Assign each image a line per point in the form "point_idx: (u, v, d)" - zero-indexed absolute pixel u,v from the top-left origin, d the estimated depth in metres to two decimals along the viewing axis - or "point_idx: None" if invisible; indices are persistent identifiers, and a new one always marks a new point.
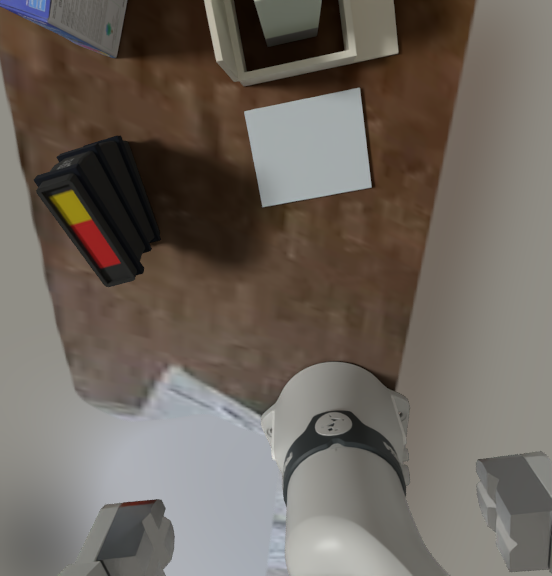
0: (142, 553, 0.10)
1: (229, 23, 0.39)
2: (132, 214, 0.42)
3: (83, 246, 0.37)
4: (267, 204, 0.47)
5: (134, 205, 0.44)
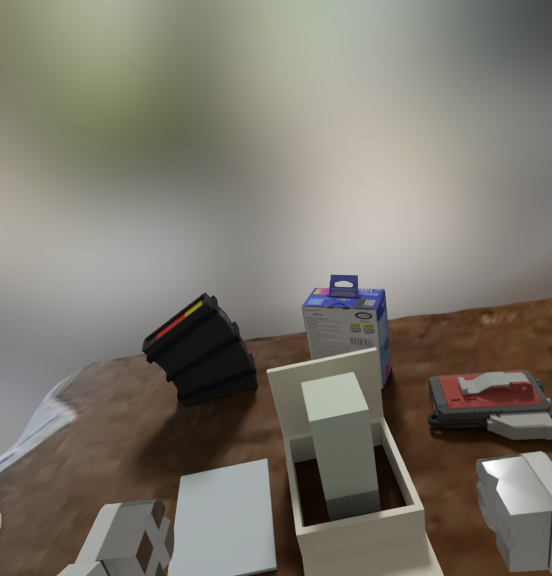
0: (142, 553, 0.10)
1: None
2: (193, 364, 0.56)
3: (172, 322, 0.57)
4: (182, 480, 0.48)
5: (202, 373, 0.58)
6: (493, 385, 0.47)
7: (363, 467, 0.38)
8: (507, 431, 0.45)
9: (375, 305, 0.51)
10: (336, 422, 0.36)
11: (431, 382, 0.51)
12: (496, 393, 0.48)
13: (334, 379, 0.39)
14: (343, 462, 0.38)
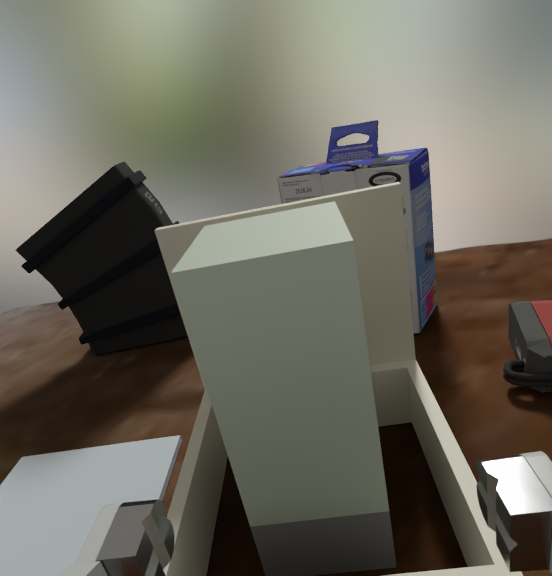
0: (142, 553, 0.10)
1: None
2: (99, 280, 0.34)
3: None
4: (19, 464, 0.25)
5: (118, 299, 0.35)
6: None
7: (344, 443, 0.14)
8: None
9: (408, 158, 0.27)
10: (255, 283, 0.12)
11: (514, 307, 0.26)
12: None
13: (283, 213, 0.16)
14: (287, 421, 0.14)
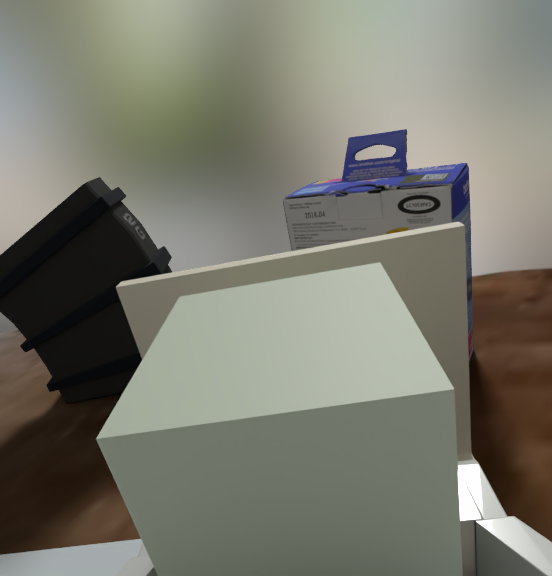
0: None
1: None
2: (70, 319, 0.29)
3: None
4: None
5: (92, 339, 0.30)
6: None
7: None
8: None
9: (448, 178, 0.21)
10: (257, 458, 0.06)
11: None
12: None
13: (300, 283, 0.10)
14: None
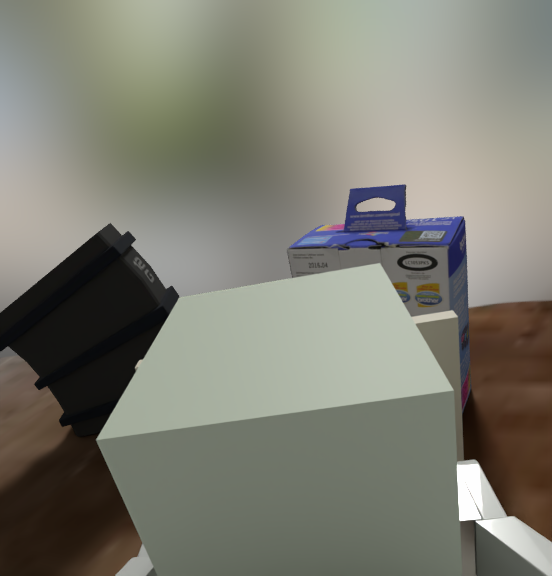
0: None
1: None
2: (82, 359, 0.30)
3: None
4: None
5: (103, 377, 0.31)
6: None
7: None
8: None
9: (445, 239, 0.22)
10: (257, 459, 0.06)
11: None
12: None
13: (300, 284, 0.10)
14: None
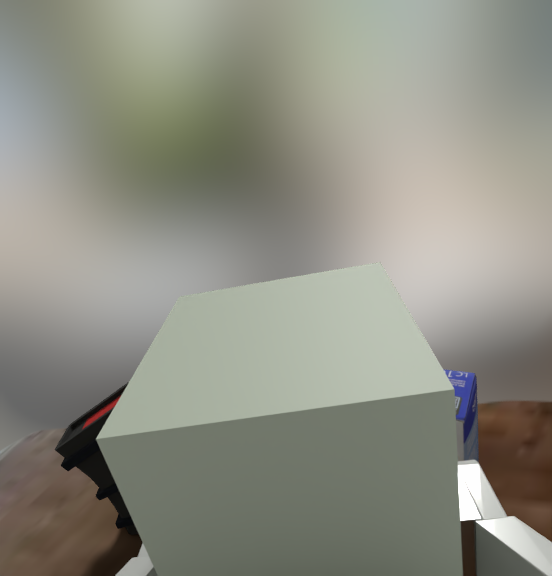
0: None
1: None
2: None
3: (110, 401, 0.35)
4: None
5: None
6: None
7: None
8: None
9: (461, 410, 0.26)
10: (257, 458, 0.06)
11: None
12: None
13: (301, 283, 0.10)
14: None
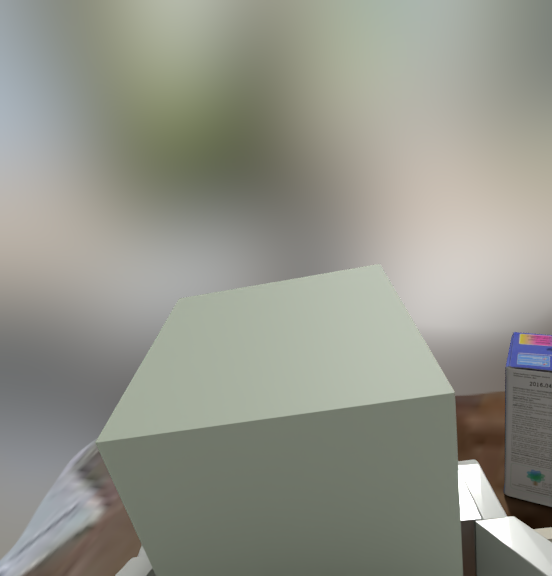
0: None
1: None
2: None
3: None
4: None
5: None
6: None
7: None
8: None
9: None
10: (257, 461, 0.06)
11: None
12: None
13: (300, 284, 0.10)
14: None
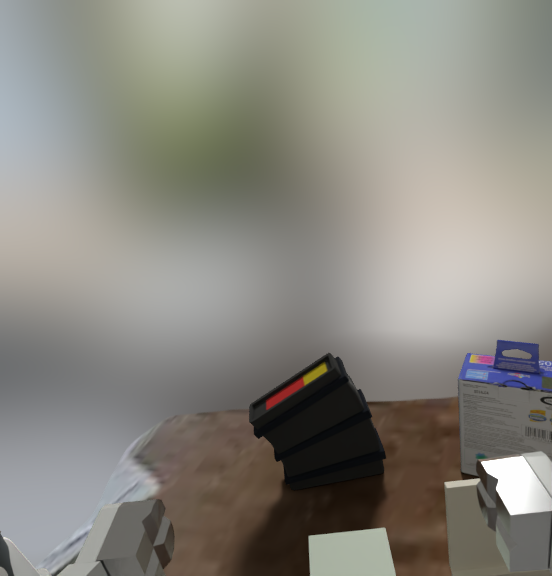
0: (142, 553, 0.10)
1: None
2: (309, 442, 0.45)
3: (285, 386, 0.46)
4: None
5: (319, 453, 0.46)
6: None
7: None
8: None
9: None
10: None
11: None
12: None
13: (356, 537, 0.27)
14: None
